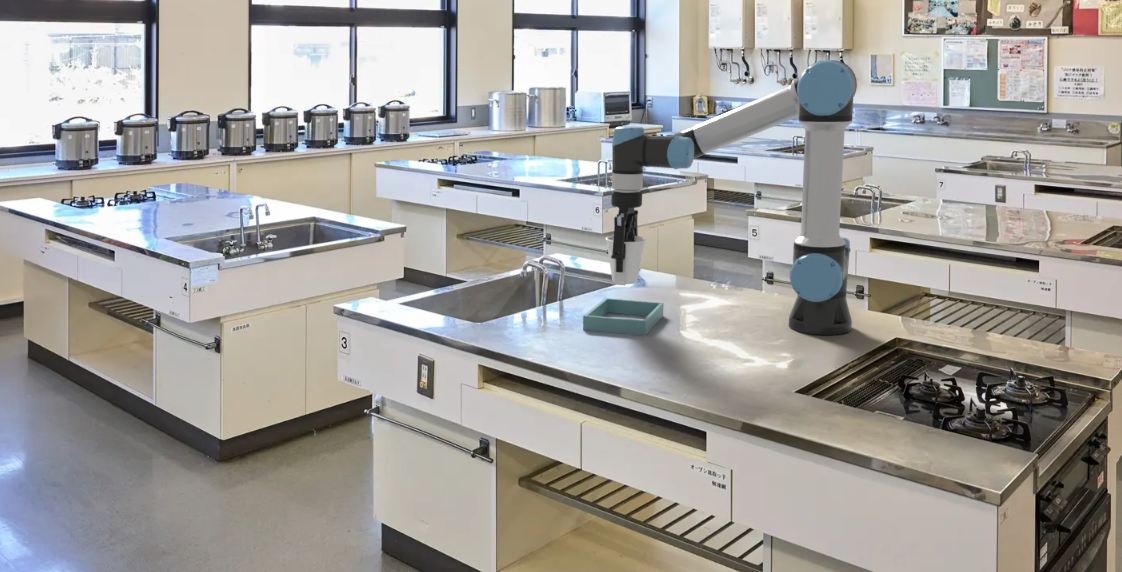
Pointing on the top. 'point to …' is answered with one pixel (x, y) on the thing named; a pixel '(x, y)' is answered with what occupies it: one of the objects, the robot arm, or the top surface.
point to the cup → (628, 257)
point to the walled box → (619, 325)
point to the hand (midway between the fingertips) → (624, 280)
